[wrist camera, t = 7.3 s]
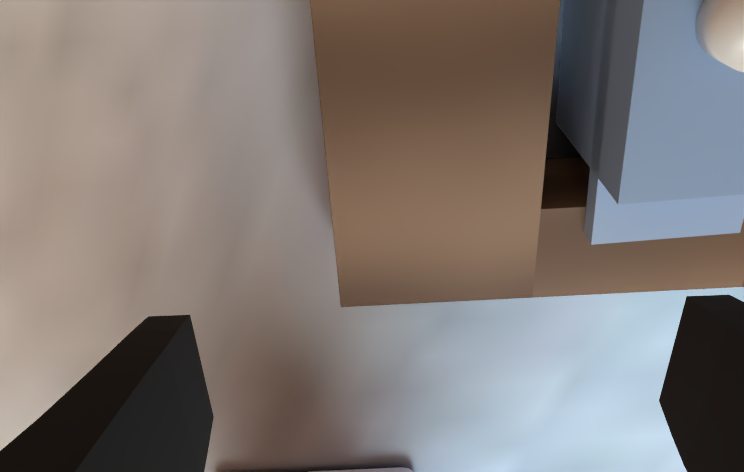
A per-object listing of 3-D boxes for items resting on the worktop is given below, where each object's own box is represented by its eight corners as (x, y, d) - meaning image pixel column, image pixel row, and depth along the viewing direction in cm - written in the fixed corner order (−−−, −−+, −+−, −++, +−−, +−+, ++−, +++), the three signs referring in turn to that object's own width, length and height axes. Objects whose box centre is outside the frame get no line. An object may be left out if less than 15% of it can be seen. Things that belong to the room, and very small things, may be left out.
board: (861, 222, 19) (938, 276, 17) (343, 249, 20) (340, 307, 17) (1055, -274, 13) (1226, -310, 11) (300, -223, 13) (285, -245, 11)
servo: (674, 169, 18) (791, 282, 13) (552, 180, 18) (621, 295, 13) (735, -179, 14) (941, -207, 9) (574, -163, 14) (689, -180, 9)
